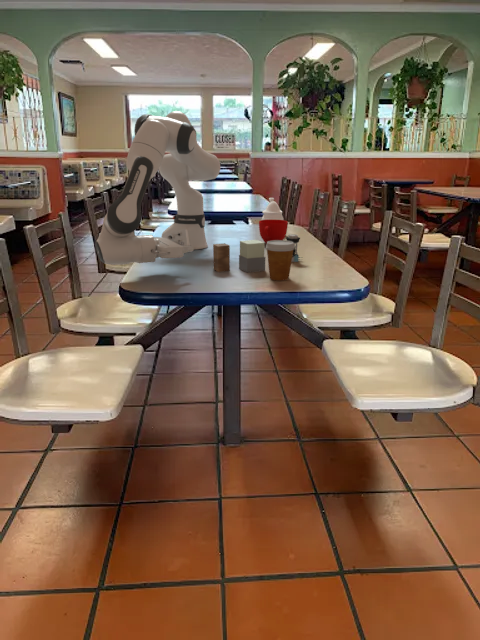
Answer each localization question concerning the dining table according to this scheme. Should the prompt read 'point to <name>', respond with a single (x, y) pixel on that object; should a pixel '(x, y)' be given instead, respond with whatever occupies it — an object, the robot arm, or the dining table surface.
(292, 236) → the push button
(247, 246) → the tower top block
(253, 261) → the tower base block
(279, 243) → the disposable coffee cup
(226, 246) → the walnut post
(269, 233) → the ceramic cup
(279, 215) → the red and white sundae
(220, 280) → the dining table surface
